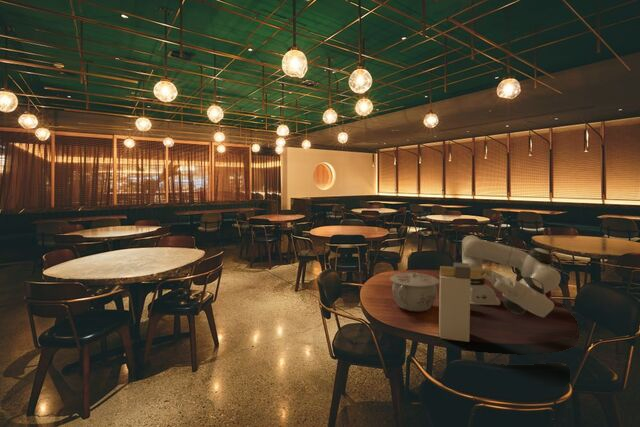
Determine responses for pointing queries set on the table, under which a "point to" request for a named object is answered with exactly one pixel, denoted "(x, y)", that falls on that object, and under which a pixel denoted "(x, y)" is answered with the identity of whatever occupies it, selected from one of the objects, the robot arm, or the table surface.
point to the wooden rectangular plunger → (473, 272)
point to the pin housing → (455, 304)
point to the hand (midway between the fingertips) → (481, 272)
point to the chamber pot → (414, 291)
